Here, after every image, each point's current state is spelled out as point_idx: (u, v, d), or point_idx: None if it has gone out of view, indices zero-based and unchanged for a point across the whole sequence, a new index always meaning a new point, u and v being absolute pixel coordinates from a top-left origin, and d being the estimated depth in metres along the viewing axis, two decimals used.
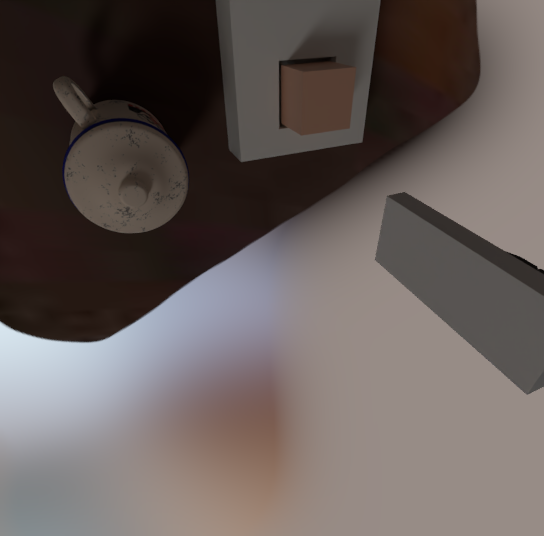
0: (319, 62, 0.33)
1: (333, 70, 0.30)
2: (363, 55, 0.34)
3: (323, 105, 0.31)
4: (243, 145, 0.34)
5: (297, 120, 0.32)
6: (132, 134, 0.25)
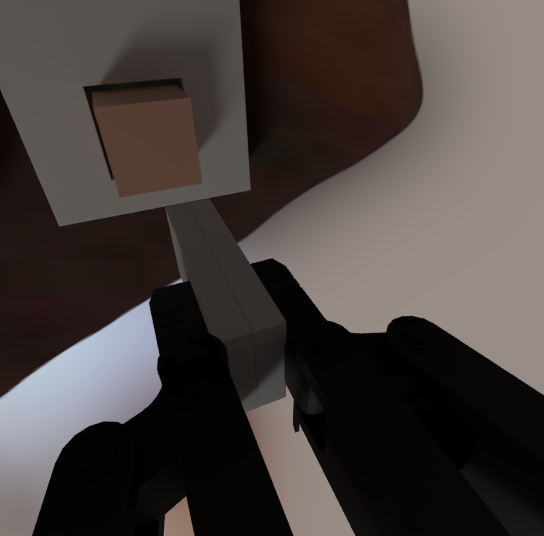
0: (155, 87, 0.22)
1: (149, 103, 0.19)
2: (227, 75, 0.24)
3: (147, 154, 0.21)
4: (56, 204, 0.24)
5: None
6: None
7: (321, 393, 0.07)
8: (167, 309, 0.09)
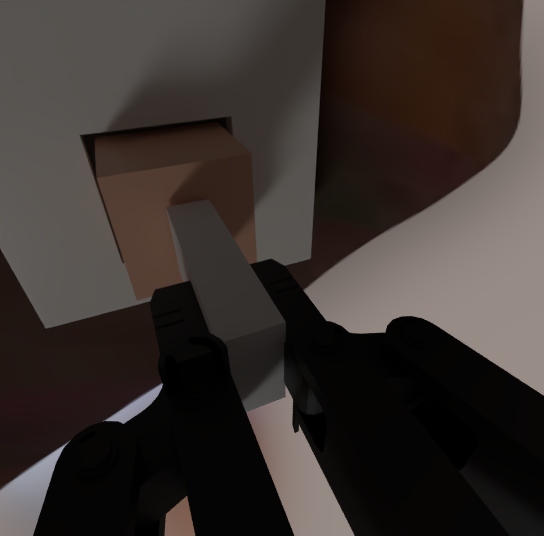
0: (189, 127, 0.15)
1: (188, 166, 0.12)
2: (296, 110, 0.16)
3: None
4: (41, 302, 0.16)
5: None
6: None
7: (320, 393, 0.07)
8: (167, 309, 0.09)
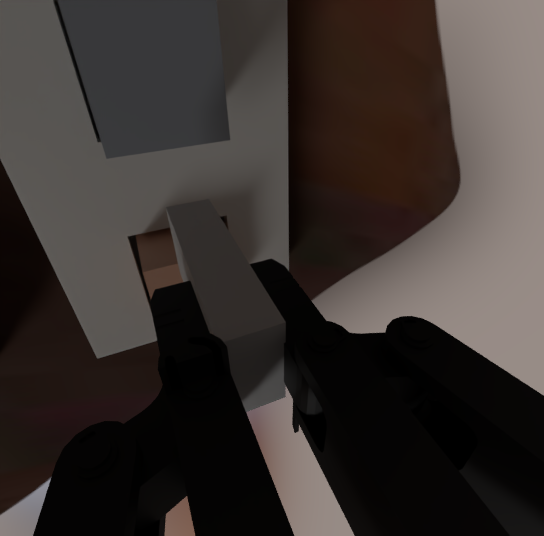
0: None
1: None
2: (272, 207, 0.23)
3: None
4: (95, 340, 0.23)
5: None
6: None
7: (320, 393, 0.07)
8: (168, 309, 0.09)
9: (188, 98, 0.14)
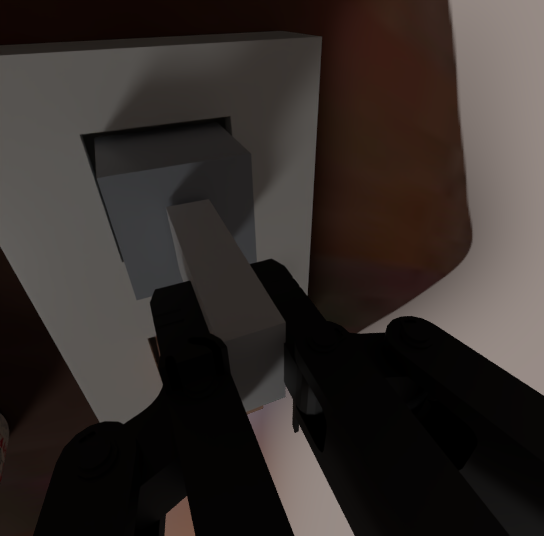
0: None
1: None
2: None
3: None
4: None
5: None
6: None
7: (320, 393, 0.07)
8: (168, 309, 0.09)
9: None
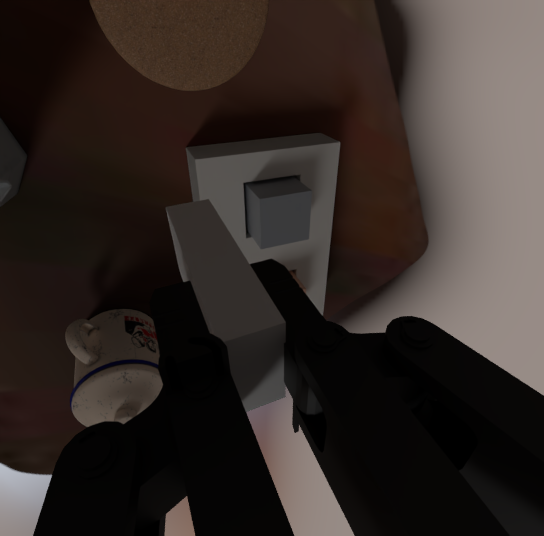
0: None
1: None
2: (319, 264, 0.42)
3: None
4: None
5: None
6: (126, 374, 0.32)
7: (320, 393, 0.07)
8: (168, 309, 0.09)
9: (295, 225, 0.33)
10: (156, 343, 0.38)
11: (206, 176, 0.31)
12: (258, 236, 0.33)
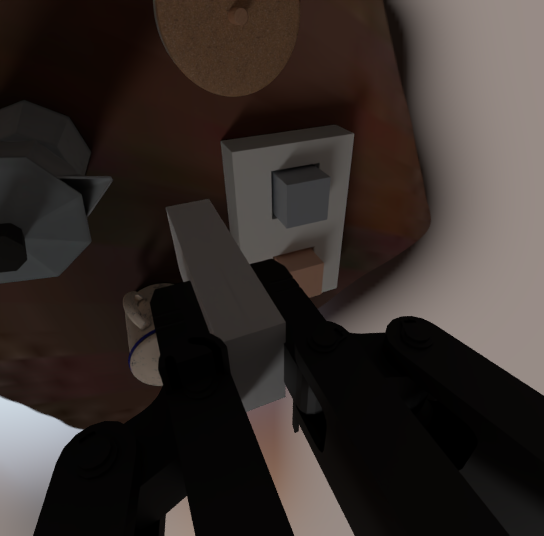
0: None
1: (307, 267, 0.43)
2: (334, 241, 0.47)
3: (301, 286, 0.45)
4: None
5: None
6: None
7: (320, 393, 0.07)
8: (167, 309, 0.09)
9: (316, 207, 0.39)
10: None
11: (240, 166, 0.36)
12: (284, 217, 0.39)
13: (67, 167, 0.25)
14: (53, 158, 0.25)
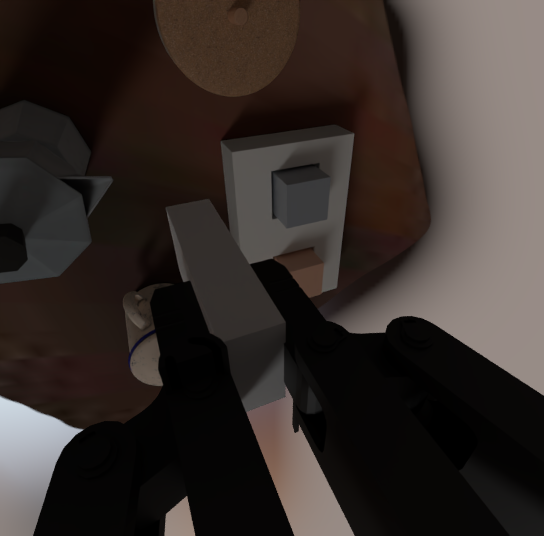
0: None
1: (307, 267, 0.43)
2: (334, 241, 0.47)
3: (301, 286, 0.45)
4: None
5: None
6: None
7: (320, 393, 0.07)
8: (167, 309, 0.09)
9: (316, 207, 0.39)
10: None
11: (240, 166, 0.36)
12: (284, 217, 0.39)
13: (67, 167, 0.25)
14: (53, 158, 0.25)
